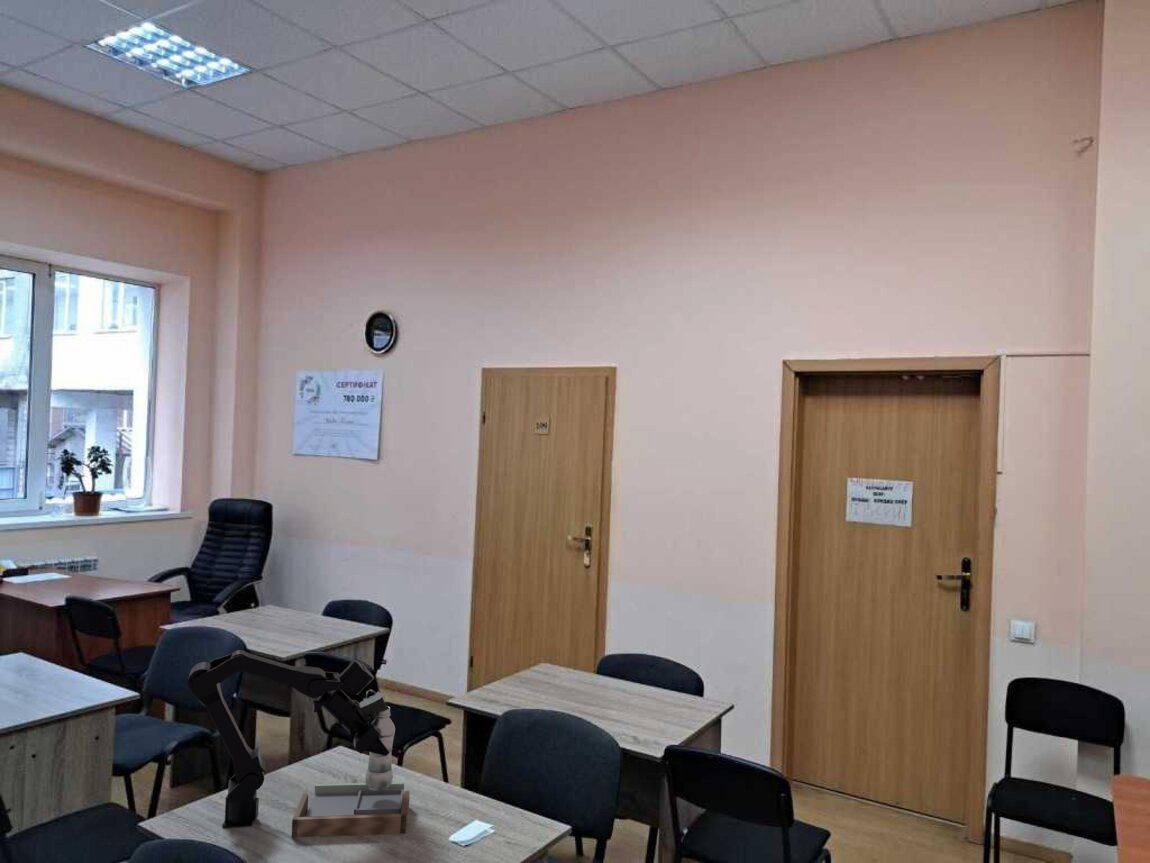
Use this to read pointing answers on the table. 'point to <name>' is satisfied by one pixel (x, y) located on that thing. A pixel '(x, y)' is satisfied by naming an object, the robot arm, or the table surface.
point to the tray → (355, 800)
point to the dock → (348, 822)
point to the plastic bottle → (379, 764)
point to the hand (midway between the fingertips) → (386, 749)
